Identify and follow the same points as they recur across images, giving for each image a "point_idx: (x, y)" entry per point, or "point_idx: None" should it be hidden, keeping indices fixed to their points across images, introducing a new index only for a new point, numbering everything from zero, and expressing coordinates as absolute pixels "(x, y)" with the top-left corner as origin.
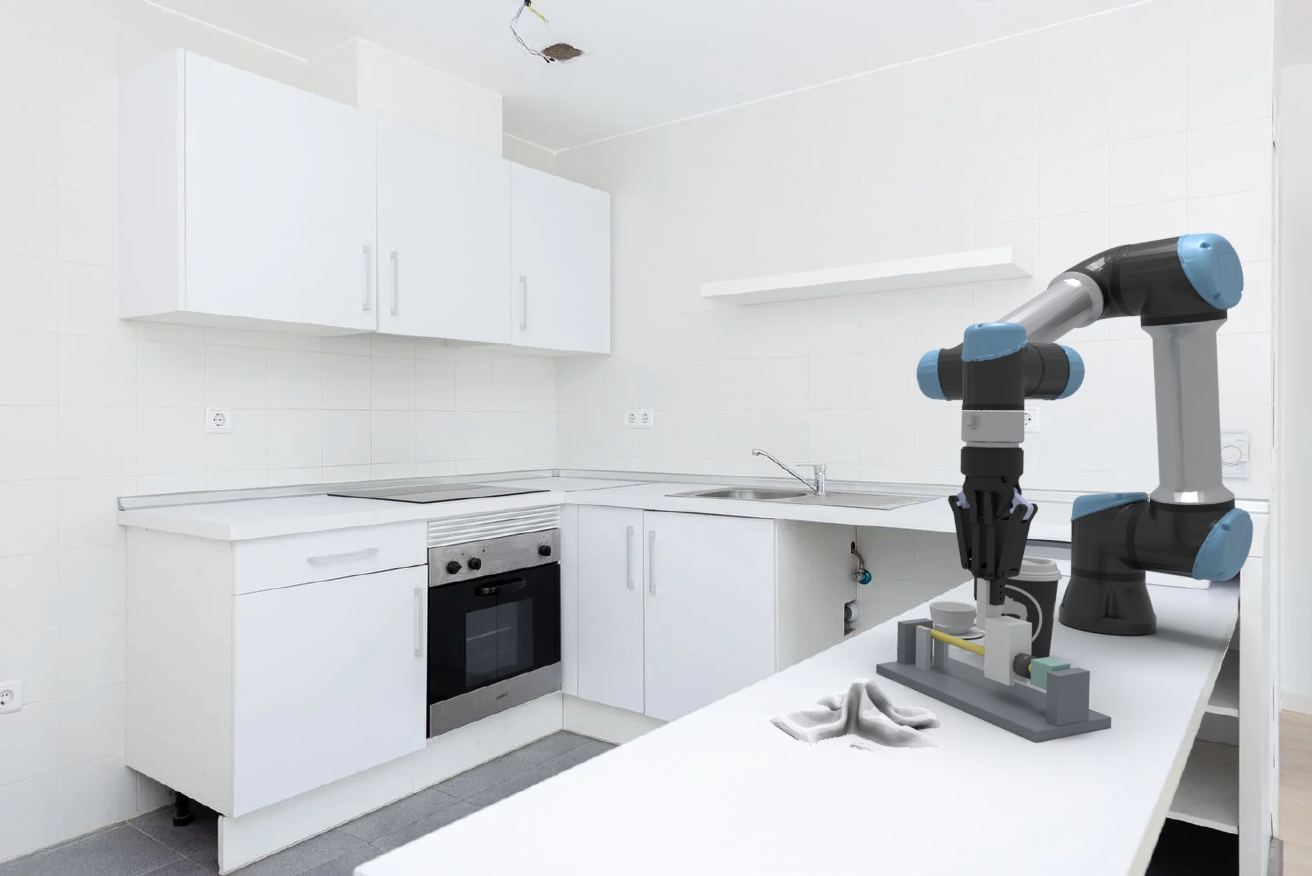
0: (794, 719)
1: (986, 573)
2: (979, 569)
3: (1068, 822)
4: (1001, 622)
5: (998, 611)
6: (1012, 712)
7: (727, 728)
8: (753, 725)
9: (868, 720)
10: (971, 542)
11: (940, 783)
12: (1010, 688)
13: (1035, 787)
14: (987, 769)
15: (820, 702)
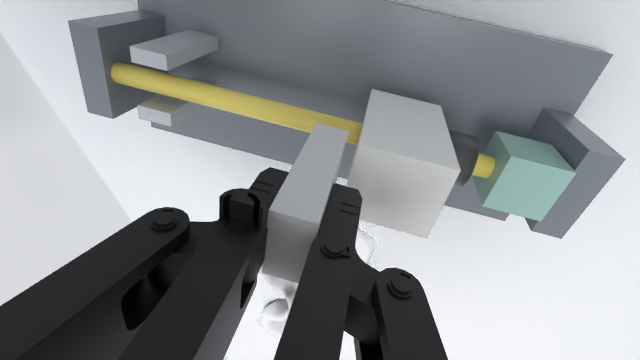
0: (279, 327)
1: (260, 250)
2: (250, 293)
3: (596, 353)
4: (393, 224)
5: (338, 165)
6: None
7: (257, 350)
8: (261, 337)
9: None
10: (86, 351)
11: (460, 347)
12: (372, 53)
13: (544, 314)
14: (482, 305)
15: None
